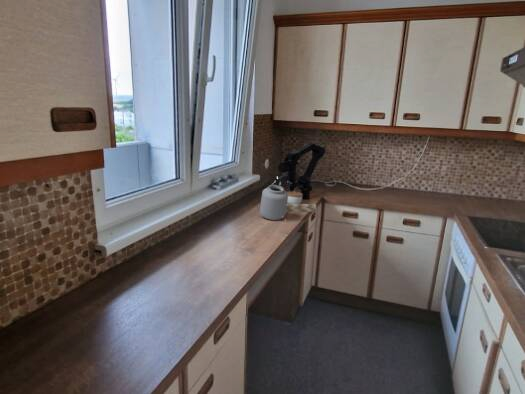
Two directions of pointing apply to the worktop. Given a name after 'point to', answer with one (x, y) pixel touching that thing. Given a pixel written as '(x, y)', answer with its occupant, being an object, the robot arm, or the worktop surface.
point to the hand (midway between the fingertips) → (290, 193)
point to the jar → (273, 202)
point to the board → (300, 208)
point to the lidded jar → (294, 197)
